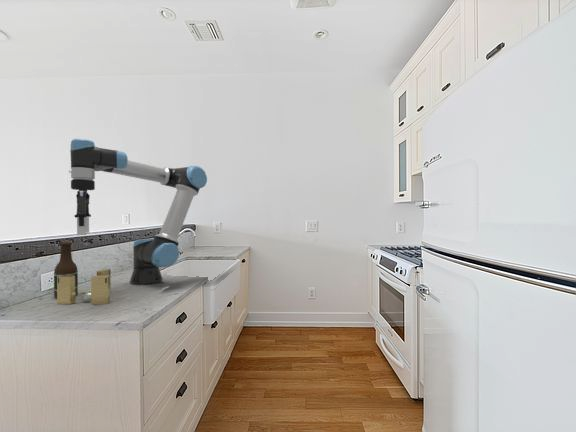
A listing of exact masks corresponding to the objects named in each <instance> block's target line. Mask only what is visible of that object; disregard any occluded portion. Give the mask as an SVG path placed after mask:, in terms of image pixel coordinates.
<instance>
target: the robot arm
mask: <svg viewBox="0 0 576 432" xmlns="http://www.w3.org/2000/svg"><path fill="white" fill-rule="evenodd" d="M69 152H70V169H69V170H68V173H70V177H71V180H70V188H71V190H74V191H75V190H77V191H76V214H74V218H76V232H77V233H76V235H77V236H87V234H88V233H90V218H91V216H92V214H90V207H89V206H90V194H89V192H88V191H94V190H95V188H96V187H95V186H96V185H95V181H94V180H95V177H96V176H95V175H96V172H104V173H105V172H106V173H110V174H115V175H121V176H125V177H126V176H127V177H130V178H135V179H140V180H146V181H152V182H154V183H155V182H156V183H160V185H162V186H165V187H170V188H173V189H176V192H175V195H174V196H173V199H172V202H171V205H170V207H169V208H168V209H169V210H168V212H167V214H166V217H165V220H164V222H163V224H162V226H161V229H160V231H159V233H157V234H155V235H154V238H141V239H135V241H133V246H132V247H133V271H132V273H131V276H130V279H129V284H130V285H133V286H149V285H155V284H163V283H162V282H163V275H162V273H161V272H162V271H161V270H160V268H168V267H169V268H170V267H171V266H173V265H174V264H176V262H177V261H178V259H179V257H180V250H179V247H178V246H179V244H180V243H179V240H178V238H179V235H180V232H181V230H182V228H183V225H184V223H185V220H186V217H187V214H188V213H189V209H190V207H191V203H192V202H193V199H194V197H196V196H198V195H199V191H200V189H202V188H204V187H205V186H206V184H207V182H208V177H207V174H206V171H205V170H204V169H203V168H202V167H200V166H197V165H189V166H185V167H179V168H177V167H176V168H171V167H157V166H154V165H151V164H146V163H140V162H137V161H133V160H129V159H128V155H127V153H126V152H125V151H120V150H118V149H108V148H102V147H97V146H96V145H95V142H94V141H93V140H90V139H87V138H74V139H72V140H71V141H70V150H69Z"/></svg>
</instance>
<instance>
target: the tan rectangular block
mask: <svg viewBox="0 0 576 432" xmlns="http://www.w3.org/2000/svg"><path fill="white" fill-rule="evenodd" d="M56 303H57V304H58V305H59V304H61V305H62V304H63V305H72V304H75V303H76V296H75V276H72V275H61V276H57V299H56Z"/></svg>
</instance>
